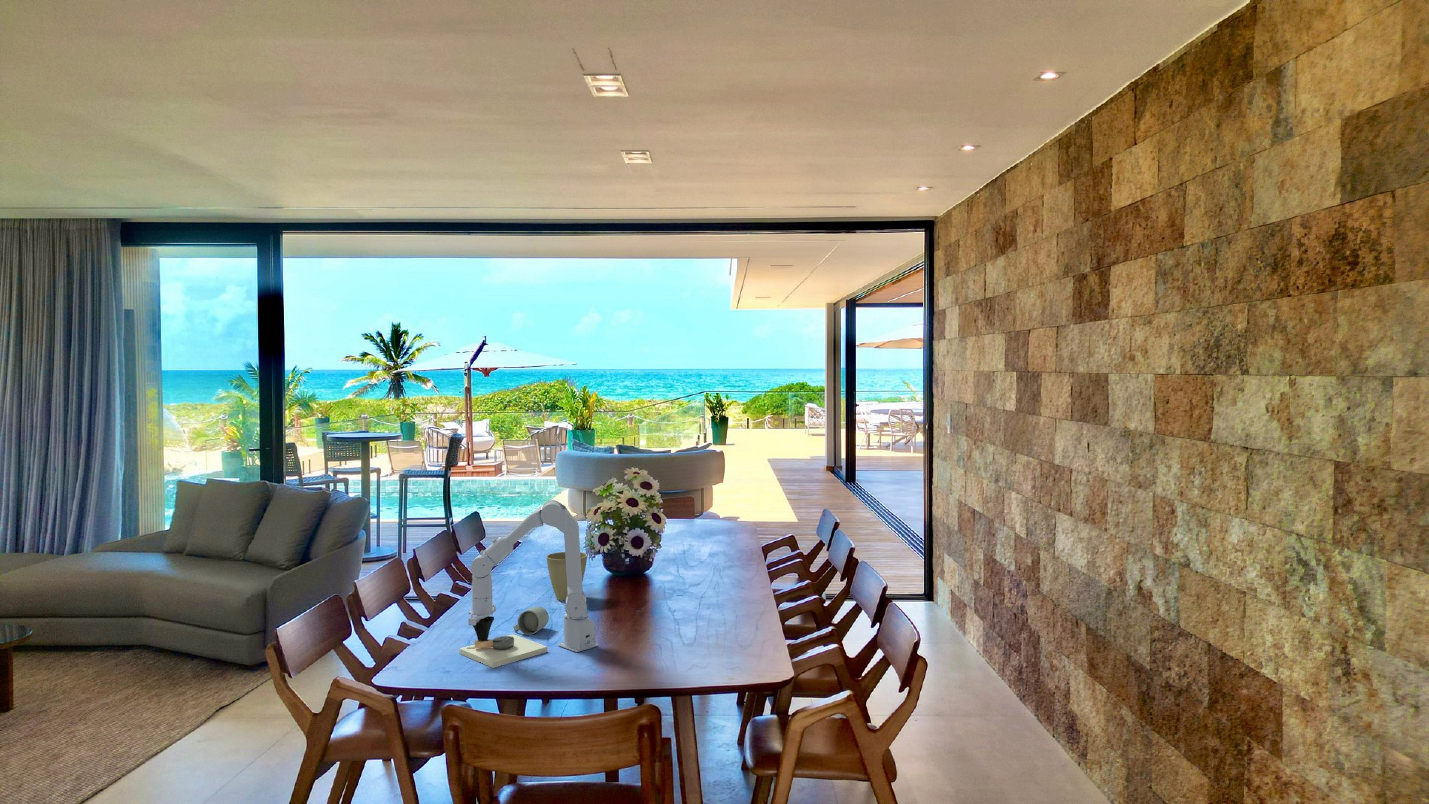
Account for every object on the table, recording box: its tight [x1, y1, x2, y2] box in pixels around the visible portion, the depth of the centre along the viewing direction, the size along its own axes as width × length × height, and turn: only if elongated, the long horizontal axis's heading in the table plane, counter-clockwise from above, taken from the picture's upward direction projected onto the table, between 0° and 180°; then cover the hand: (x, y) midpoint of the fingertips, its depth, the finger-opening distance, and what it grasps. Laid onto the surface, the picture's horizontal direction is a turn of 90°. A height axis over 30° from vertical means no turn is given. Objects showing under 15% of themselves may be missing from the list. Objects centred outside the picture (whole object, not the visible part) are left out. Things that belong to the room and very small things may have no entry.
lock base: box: [458, 633, 548, 669], centre depth 226 cm, size 18×18×2 cm
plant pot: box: [545, 551, 588, 602], centre depth 286 cm, size 15×15×16 cm
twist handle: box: [474, 635, 514, 650], centre depth 226 cm, size 11×6×2 cm, turn 99°
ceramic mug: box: [512, 606, 550, 636], centre depth 247 cm, size 11×8×8 cm
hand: (482, 642), depth 228 cm, fingers closed
